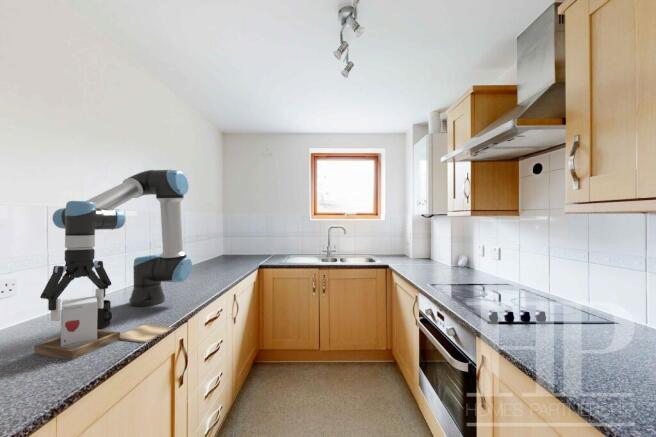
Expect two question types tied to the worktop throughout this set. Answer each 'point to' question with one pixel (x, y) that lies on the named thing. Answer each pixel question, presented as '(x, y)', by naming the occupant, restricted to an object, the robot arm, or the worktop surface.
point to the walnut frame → (53, 350)
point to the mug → (104, 315)
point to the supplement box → (78, 322)
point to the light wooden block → (145, 333)
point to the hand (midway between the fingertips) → (78, 313)
